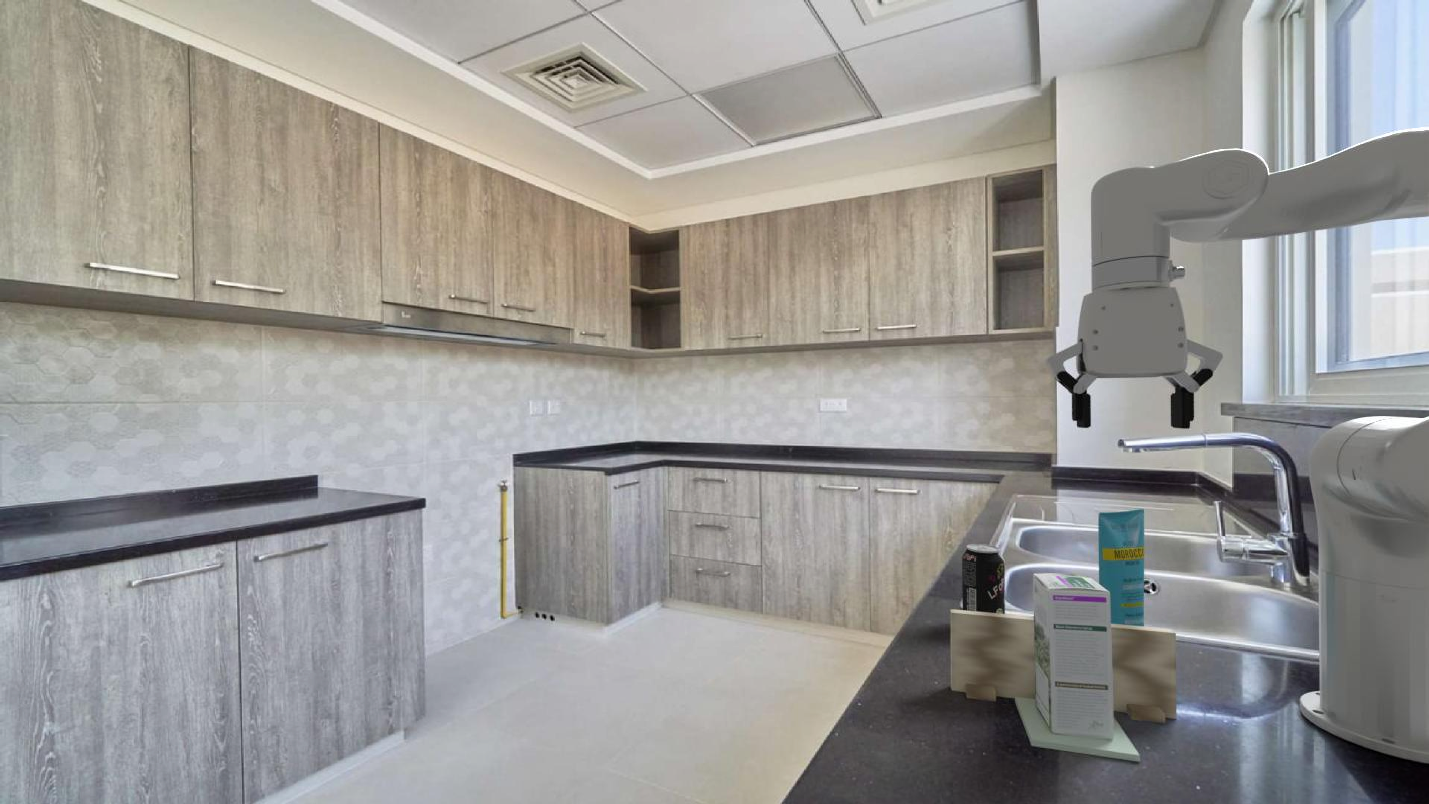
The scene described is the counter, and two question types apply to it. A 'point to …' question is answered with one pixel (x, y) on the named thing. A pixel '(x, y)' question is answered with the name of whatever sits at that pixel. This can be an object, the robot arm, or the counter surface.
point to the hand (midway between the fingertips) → (1130, 427)
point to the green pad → (1093, 746)
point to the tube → (1123, 564)
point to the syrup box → (1073, 655)
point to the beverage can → (983, 579)
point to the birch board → (1003, 662)
